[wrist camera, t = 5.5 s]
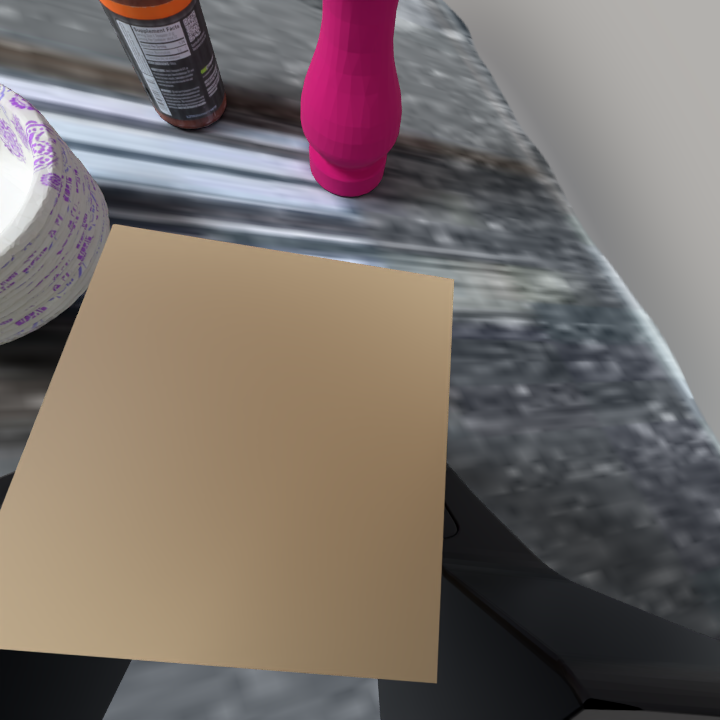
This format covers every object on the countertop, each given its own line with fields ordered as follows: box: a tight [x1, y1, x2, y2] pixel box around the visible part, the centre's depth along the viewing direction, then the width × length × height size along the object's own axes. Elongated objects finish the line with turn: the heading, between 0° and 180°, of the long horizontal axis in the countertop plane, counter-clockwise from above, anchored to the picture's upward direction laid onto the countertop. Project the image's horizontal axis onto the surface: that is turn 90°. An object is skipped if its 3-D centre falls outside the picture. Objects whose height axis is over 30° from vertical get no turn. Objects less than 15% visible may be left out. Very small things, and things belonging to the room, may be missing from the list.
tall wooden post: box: [0, 224, 454, 683], centre depth 9 cm, size 3×3×14 cm
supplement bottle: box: [99, 0, 226, 129], centre depth 22 cm, size 6×6×11 cm
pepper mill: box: [301, 0, 402, 197], centre depth 18 cm, size 7×7×20 cm
